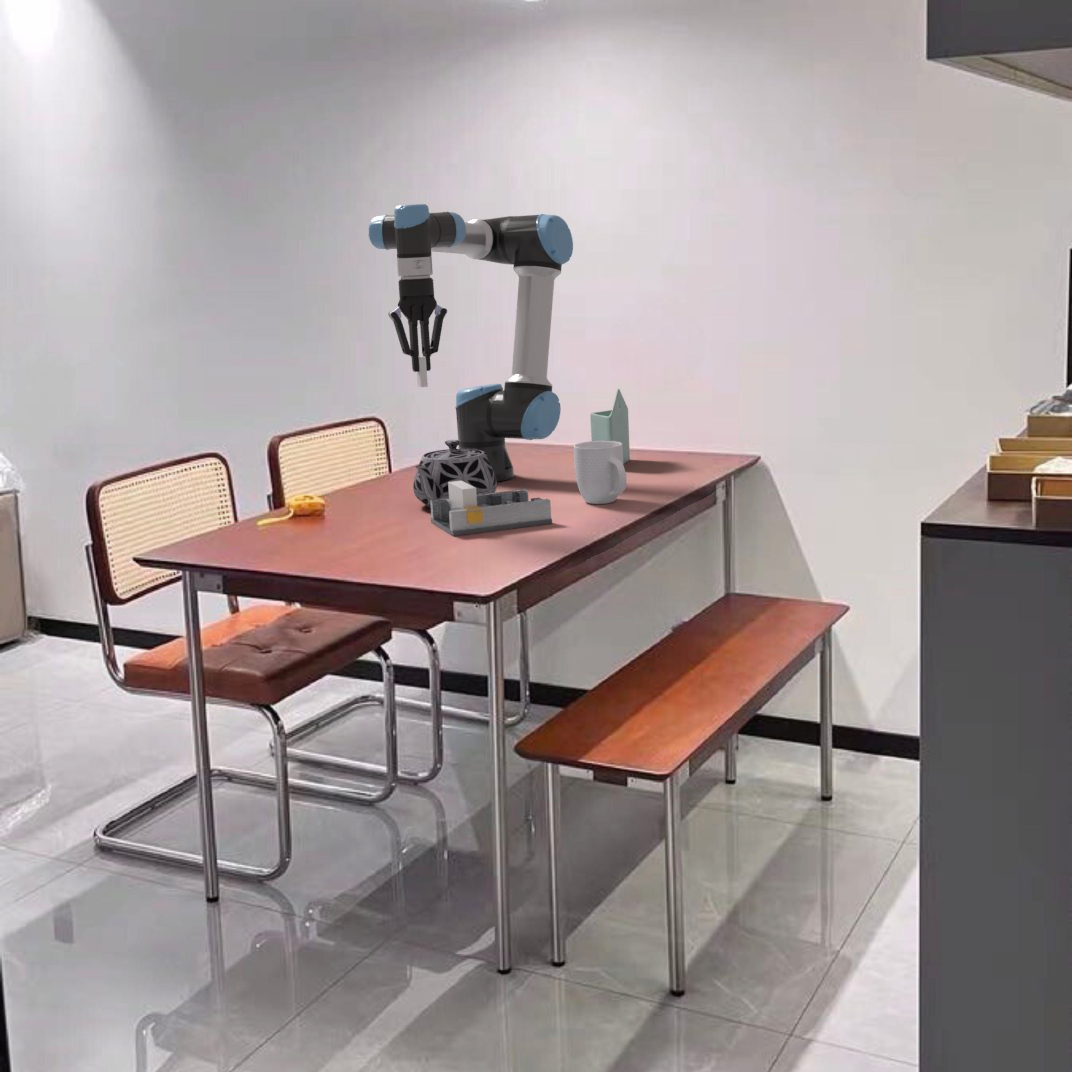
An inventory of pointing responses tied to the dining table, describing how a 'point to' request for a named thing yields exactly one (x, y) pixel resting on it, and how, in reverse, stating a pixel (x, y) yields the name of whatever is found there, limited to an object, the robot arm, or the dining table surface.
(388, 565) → the dining table surface
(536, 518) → the rack
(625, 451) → the planter
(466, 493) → the panel
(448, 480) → the teapot
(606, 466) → the mug
